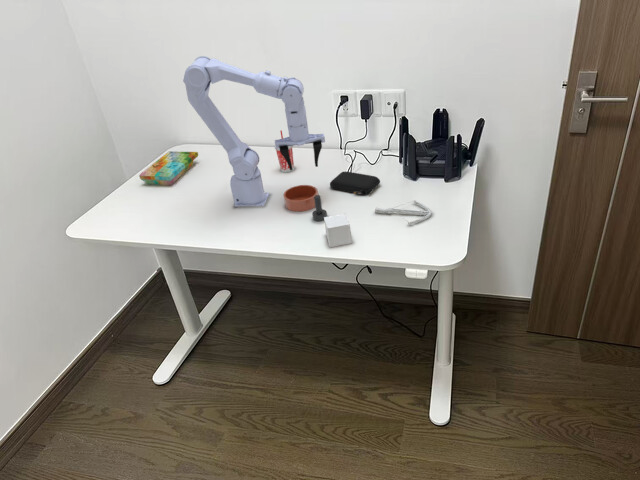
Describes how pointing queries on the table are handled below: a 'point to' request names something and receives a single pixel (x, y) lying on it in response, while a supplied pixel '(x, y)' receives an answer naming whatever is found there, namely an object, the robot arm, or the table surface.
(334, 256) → the table surface
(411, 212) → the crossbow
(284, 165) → the beverage cup
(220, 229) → the table surface
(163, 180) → the puzzle game
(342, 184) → the carrying case
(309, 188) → the pot
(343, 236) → the white cube
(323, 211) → the dark grey bolt
